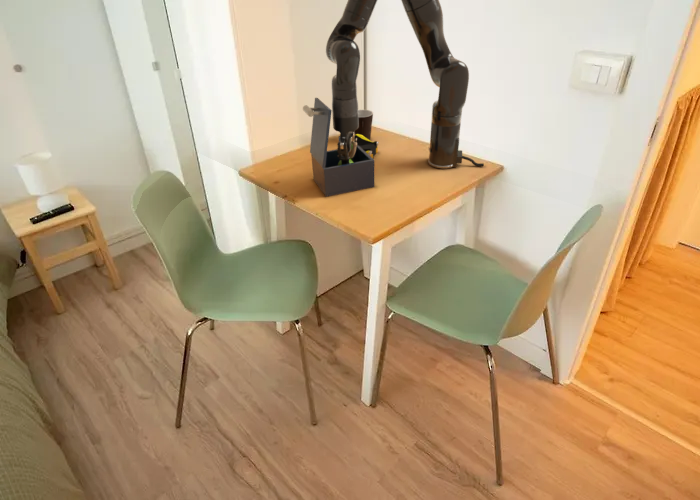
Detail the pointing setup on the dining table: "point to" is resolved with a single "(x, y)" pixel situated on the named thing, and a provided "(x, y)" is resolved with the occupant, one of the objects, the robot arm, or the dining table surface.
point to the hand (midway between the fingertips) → (347, 166)
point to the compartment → (344, 173)
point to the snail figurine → (350, 153)
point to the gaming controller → (367, 145)
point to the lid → (319, 130)
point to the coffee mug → (365, 123)
